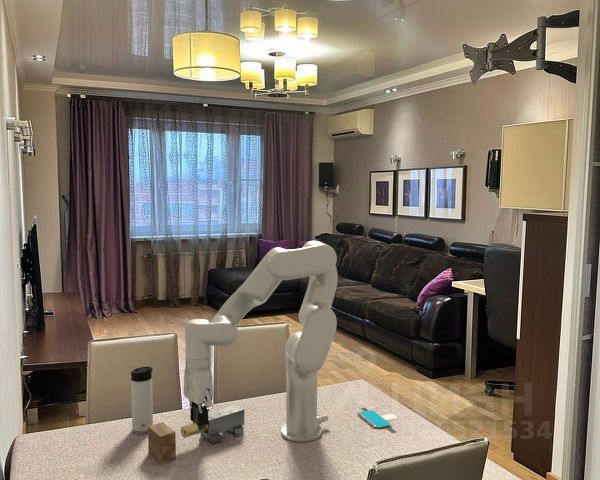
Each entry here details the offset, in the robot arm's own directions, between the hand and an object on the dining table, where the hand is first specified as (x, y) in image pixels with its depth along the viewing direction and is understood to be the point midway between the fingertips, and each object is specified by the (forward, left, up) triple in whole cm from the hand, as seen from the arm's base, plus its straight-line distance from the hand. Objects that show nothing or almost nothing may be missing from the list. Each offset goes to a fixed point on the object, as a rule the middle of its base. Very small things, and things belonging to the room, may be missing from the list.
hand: (199, 421), depth 158 cm
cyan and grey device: (-54, +23, -8) cm, 59 cm away
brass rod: (-4, 0, -3) cm, 5 cm away
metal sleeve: (-8, 0, -7) cm, 10 cm away
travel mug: (+9, -19, -7) cm, 22 cm away
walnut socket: (+12, 0, -7) cm, 14 cm away
